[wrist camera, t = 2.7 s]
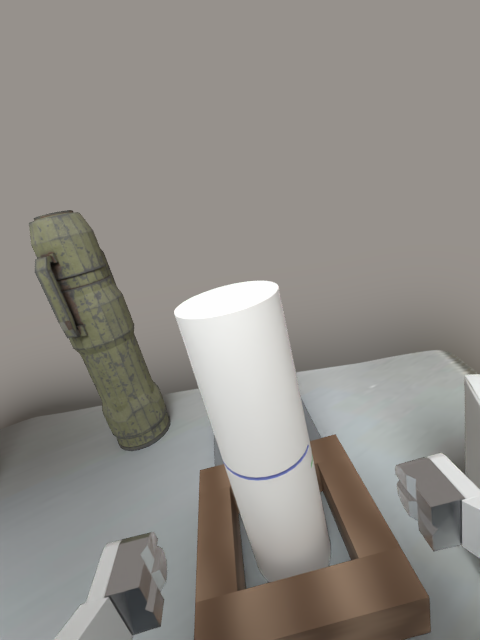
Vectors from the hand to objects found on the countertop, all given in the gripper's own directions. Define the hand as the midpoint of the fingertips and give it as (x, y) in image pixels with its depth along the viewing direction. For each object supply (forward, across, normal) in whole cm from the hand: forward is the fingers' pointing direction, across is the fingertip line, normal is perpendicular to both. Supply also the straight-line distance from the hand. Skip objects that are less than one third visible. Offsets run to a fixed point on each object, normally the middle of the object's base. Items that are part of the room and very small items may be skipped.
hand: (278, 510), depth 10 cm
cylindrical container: (+13, 0, +21) cm, 25 cm away
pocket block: (+13, 0, +21) cm, 24 cm away
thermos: (+37, +19, +21) cm, 47 cm away
